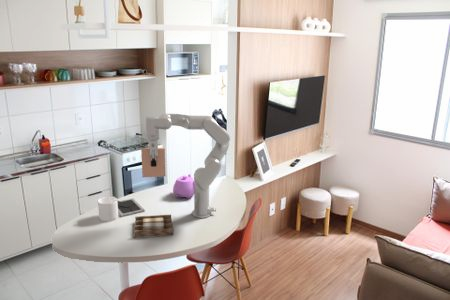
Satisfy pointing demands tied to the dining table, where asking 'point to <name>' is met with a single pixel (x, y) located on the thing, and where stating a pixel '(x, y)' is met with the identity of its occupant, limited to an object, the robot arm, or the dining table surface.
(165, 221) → the offcut rack
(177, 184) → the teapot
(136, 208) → the picture frame
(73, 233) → the dining table surface
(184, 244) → the dining table surface
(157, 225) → the grey offcut
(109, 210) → the cup
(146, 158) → the plywood sheet
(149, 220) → the birch offcut
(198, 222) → the dining table surface
